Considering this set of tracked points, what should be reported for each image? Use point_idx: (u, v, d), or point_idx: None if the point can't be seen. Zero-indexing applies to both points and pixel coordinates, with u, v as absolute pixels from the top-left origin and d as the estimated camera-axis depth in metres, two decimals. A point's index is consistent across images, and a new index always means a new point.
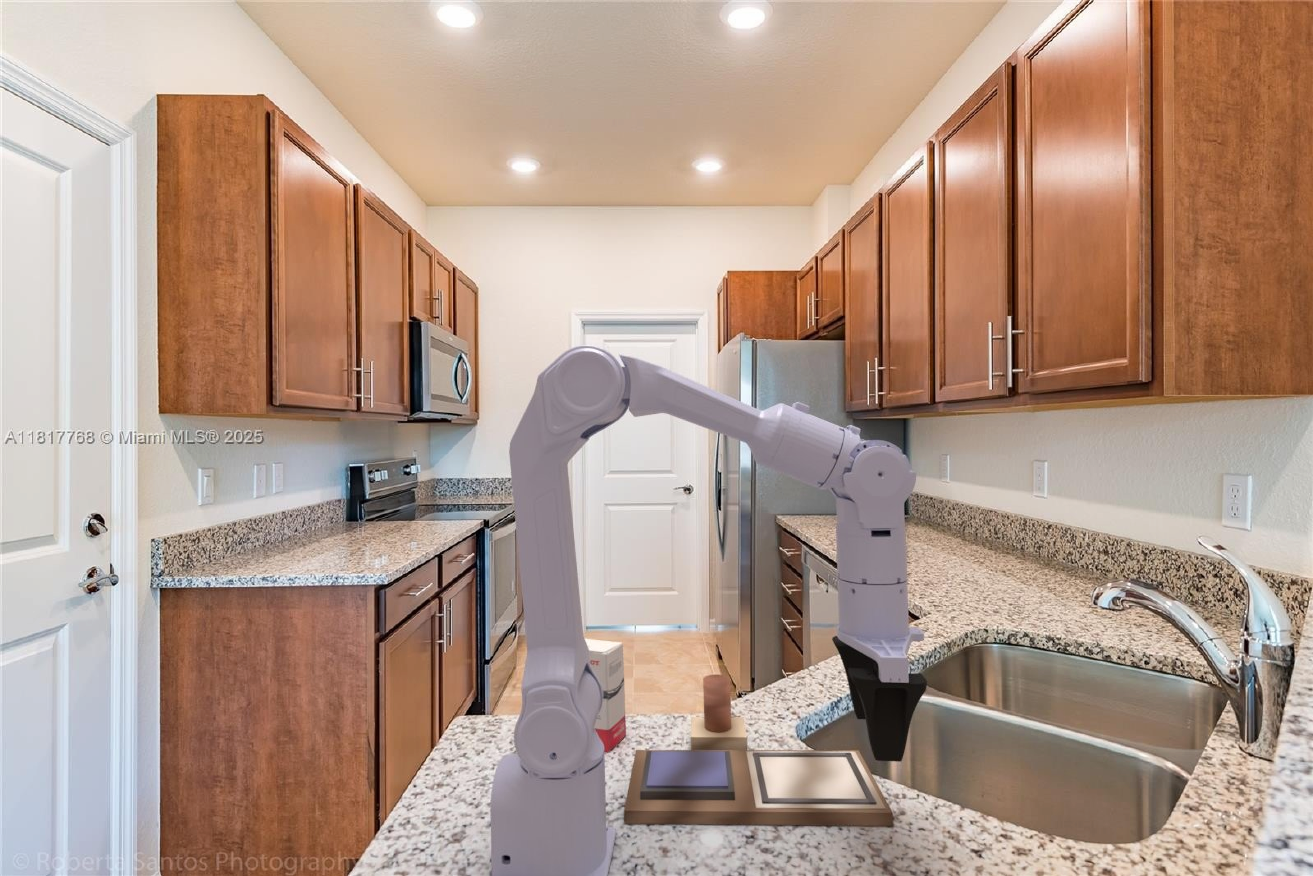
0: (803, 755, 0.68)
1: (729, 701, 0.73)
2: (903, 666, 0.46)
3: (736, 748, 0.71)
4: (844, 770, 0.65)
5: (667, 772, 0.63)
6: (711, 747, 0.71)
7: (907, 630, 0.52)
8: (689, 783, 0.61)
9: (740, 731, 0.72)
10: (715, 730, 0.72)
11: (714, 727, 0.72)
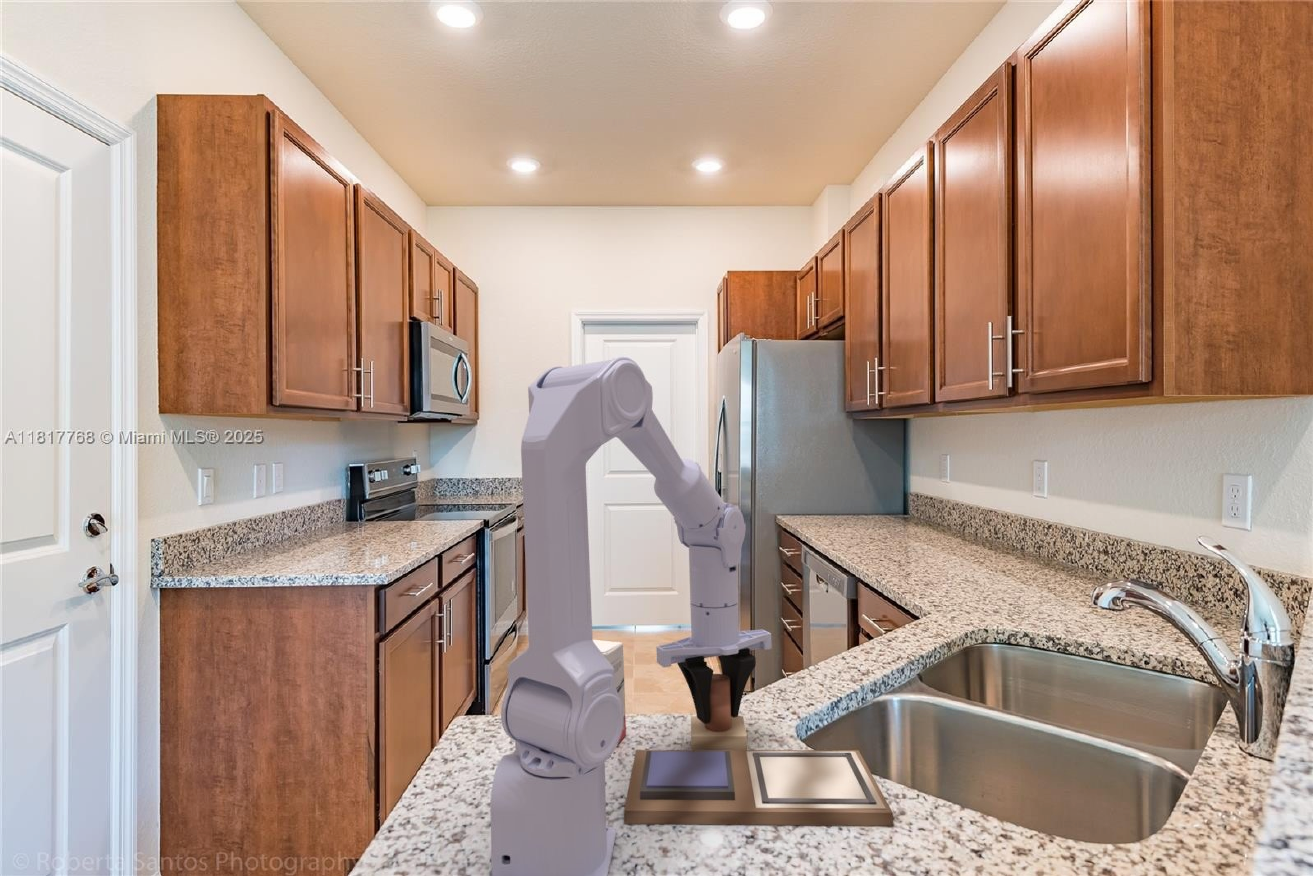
0: (803, 755, 0.68)
1: (729, 700, 0.73)
2: (661, 656, 0.70)
3: (736, 747, 0.71)
4: (844, 770, 0.65)
5: (667, 772, 0.63)
6: (711, 746, 0.71)
7: (714, 643, 0.71)
8: (689, 783, 0.61)
9: (740, 730, 0.72)
10: (715, 729, 0.72)
11: (714, 726, 0.72)
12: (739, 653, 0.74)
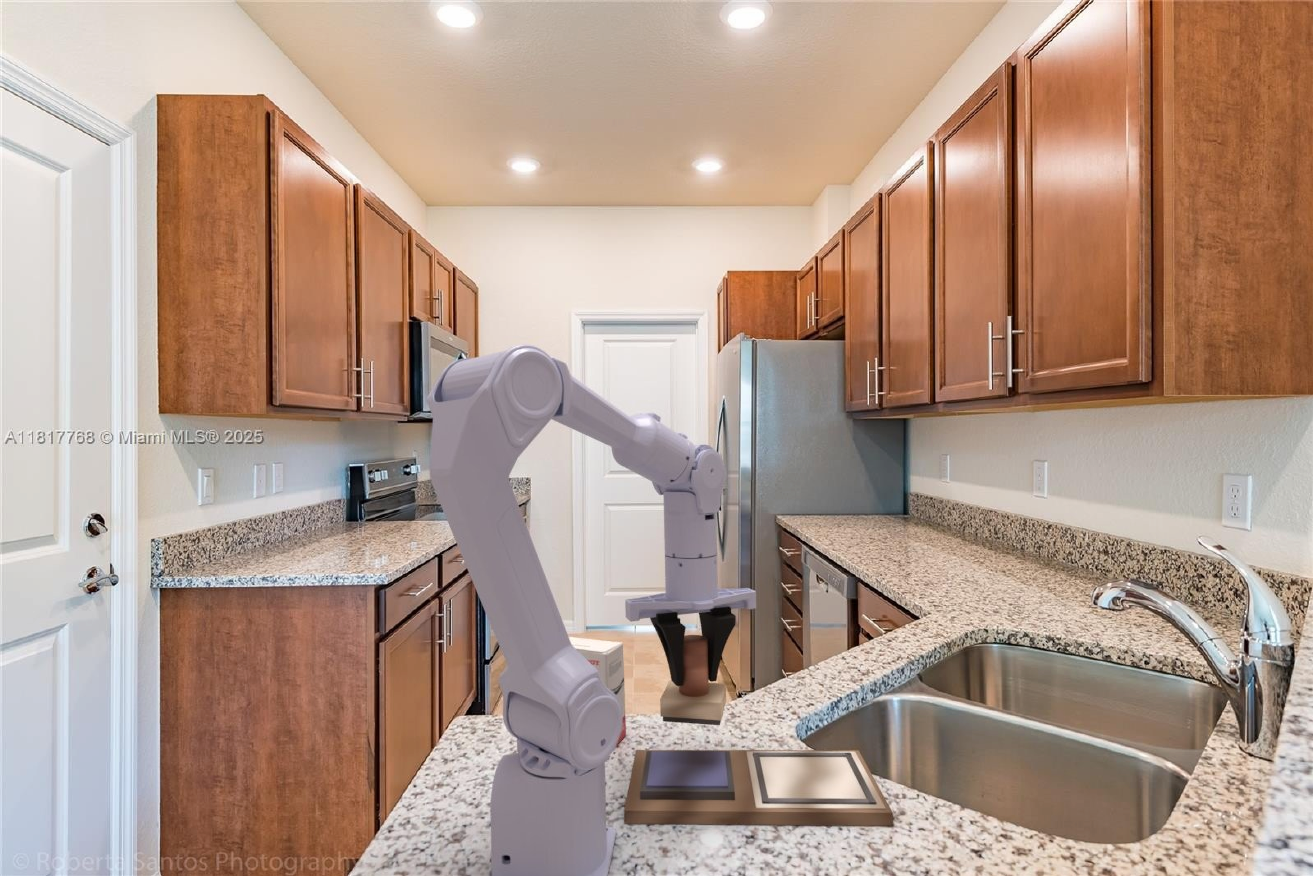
0: (803, 755, 0.68)
1: (705, 663, 0.66)
2: (629, 609, 0.64)
3: (709, 714, 0.64)
4: (844, 770, 0.65)
5: (667, 772, 0.63)
6: (682, 711, 0.64)
7: (687, 597, 0.64)
8: (689, 783, 0.61)
9: (717, 696, 0.65)
10: (688, 694, 0.65)
11: (687, 690, 0.66)
12: (718, 611, 0.67)
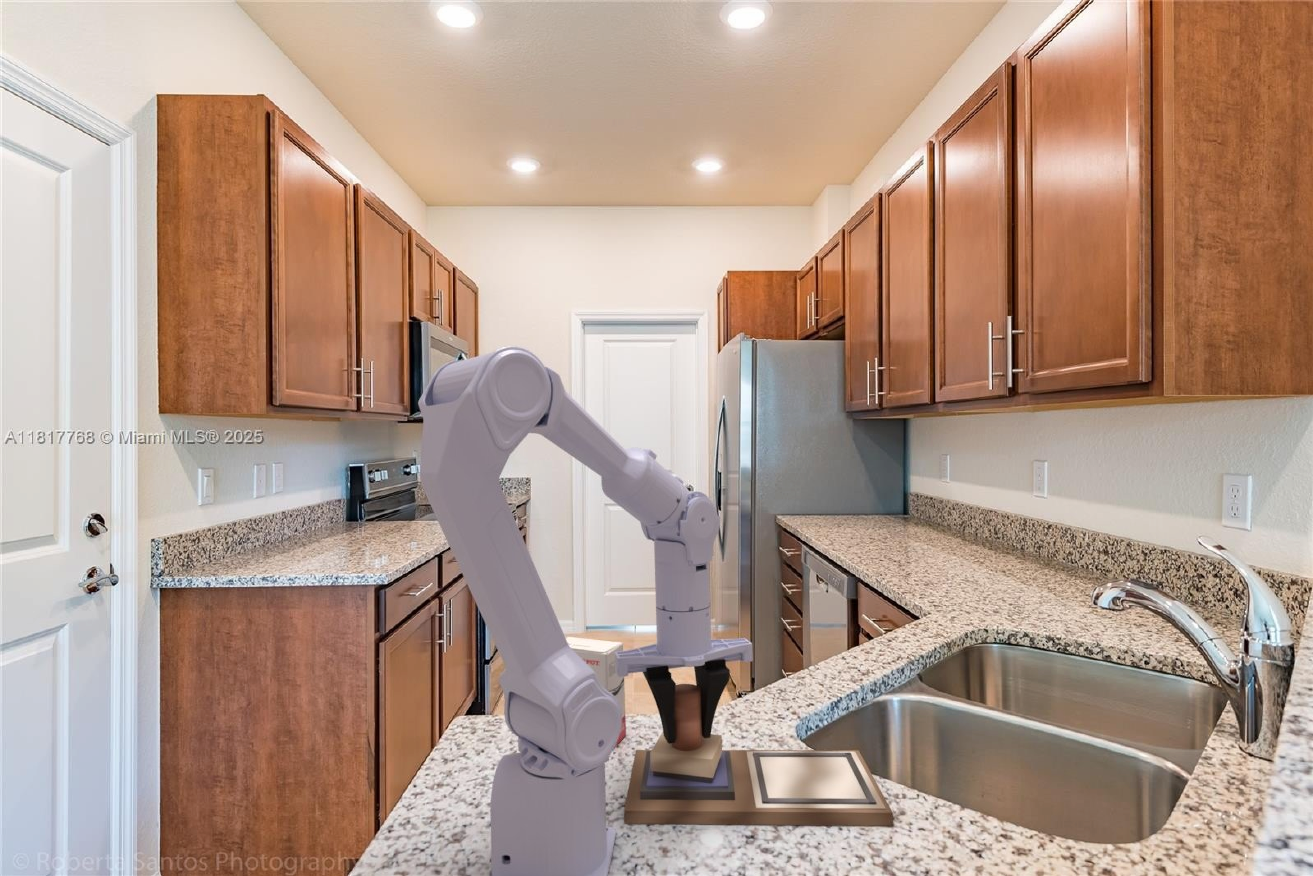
0: (803, 755, 0.68)
1: (698, 716, 0.63)
2: (617, 663, 0.62)
3: (700, 771, 0.61)
4: (844, 770, 0.65)
5: None
6: (672, 766, 0.62)
7: (677, 652, 0.62)
8: (689, 783, 0.61)
9: (709, 751, 0.62)
10: (680, 747, 0.63)
11: (679, 744, 0.63)
12: (712, 665, 0.64)
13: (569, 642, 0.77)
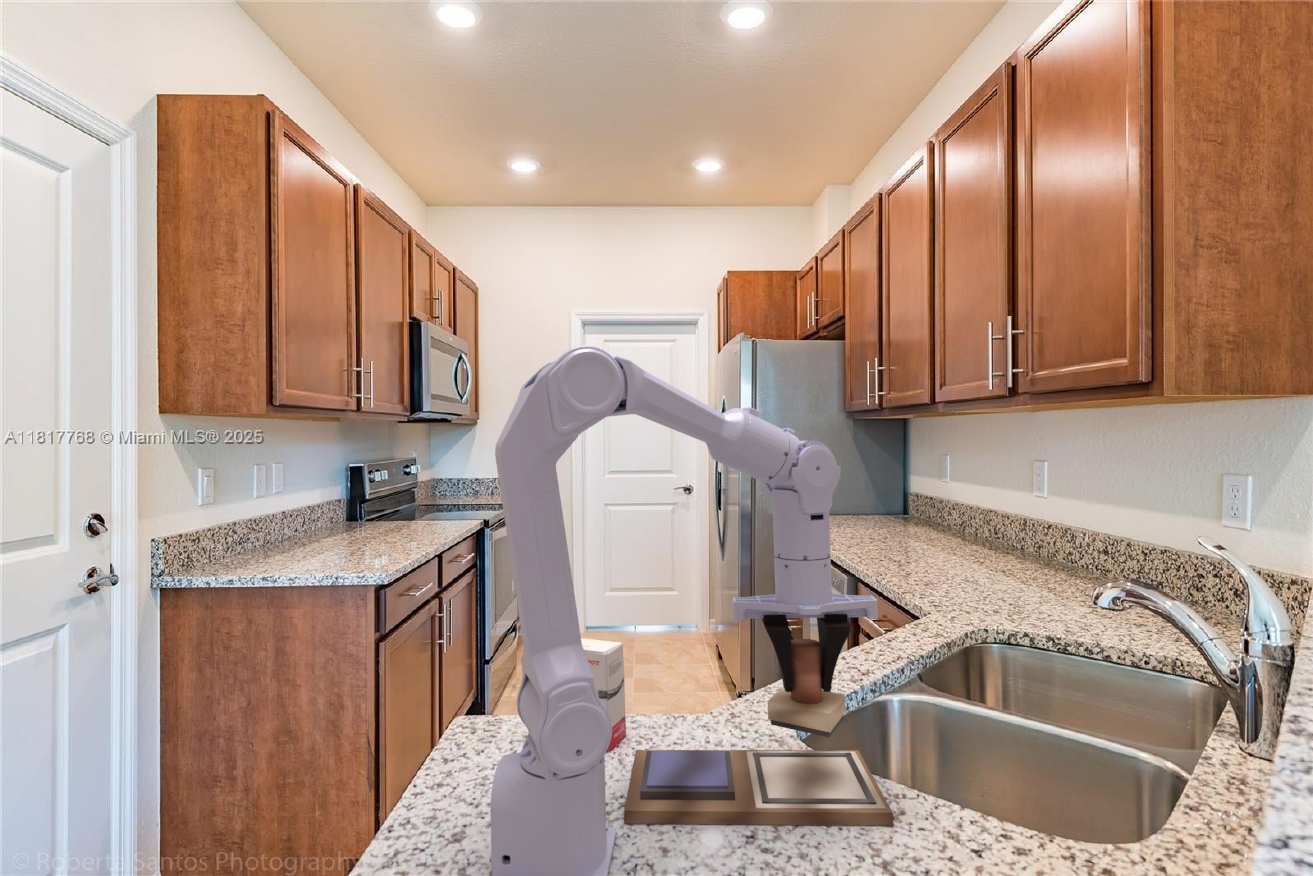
0: (803, 755, 0.68)
1: (817, 670, 0.63)
2: (733, 607, 0.64)
3: (817, 724, 0.60)
4: (844, 770, 0.65)
5: (667, 772, 0.63)
6: (789, 717, 0.62)
7: (793, 601, 0.61)
8: (689, 783, 0.61)
9: (828, 707, 0.61)
10: (798, 700, 0.63)
11: (797, 696, 0.63)
12: (833, 618, 0.63)
13: None
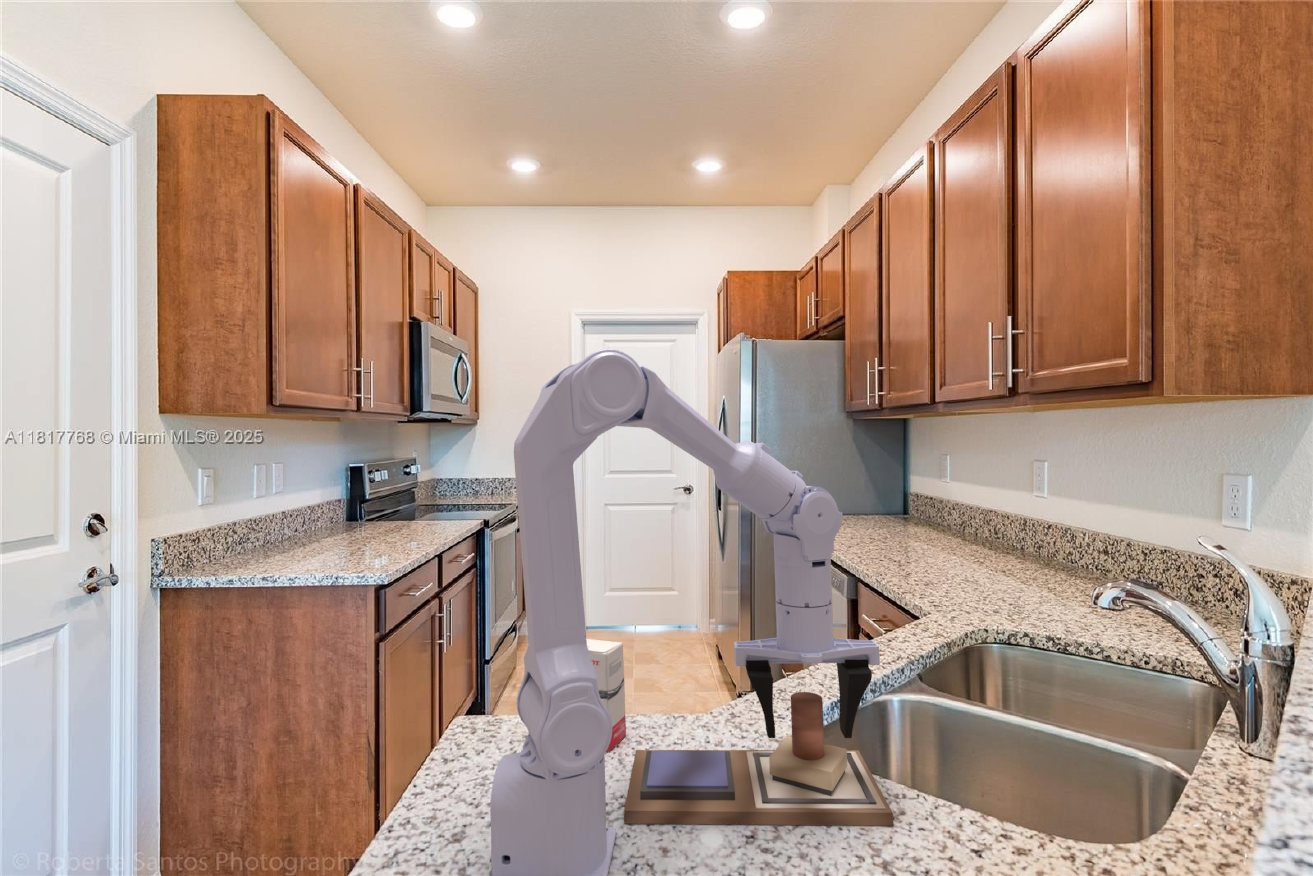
0: None
1: (818, 726, 0.62)
2: (735, 653, 0.63)
3: (819, 782, 0.60)
4: None
5: (667, 772, 0.63)
6: (791, 773, 0.62)
7: (795, 648, 0.61)
8: (689, 783, 0.61)
9: (830, 764, 0.61)
10: (800, 755, 0.62)
11: (799, 752, 0.63)
12: (853, 664, 0.63)
13: None
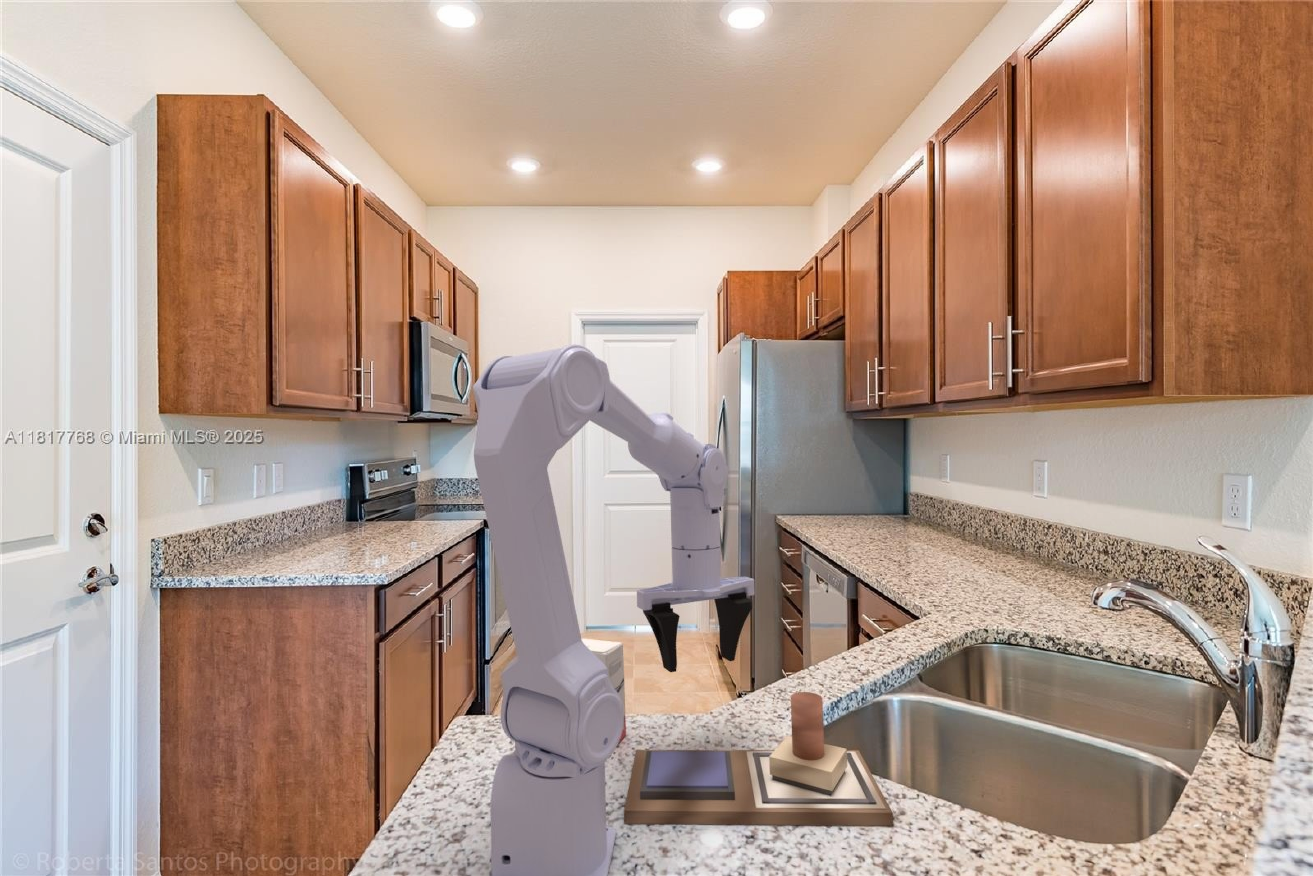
0: None
1: (818, 726, 0.62)
2: (642, 599, 0.68)
3: (819, 782, 0.60)
4: None
5: (667, 772, 0.63)
6: (791, 773, 0.62)
7: (696, 586, 0.69)
8: (689, 783, 0.61)
9: (830, 764, 0.61)
10: (800, 755, 0.62)
11: (799, 752, 0.63)
12: (735, 596, 0.73)
13: None
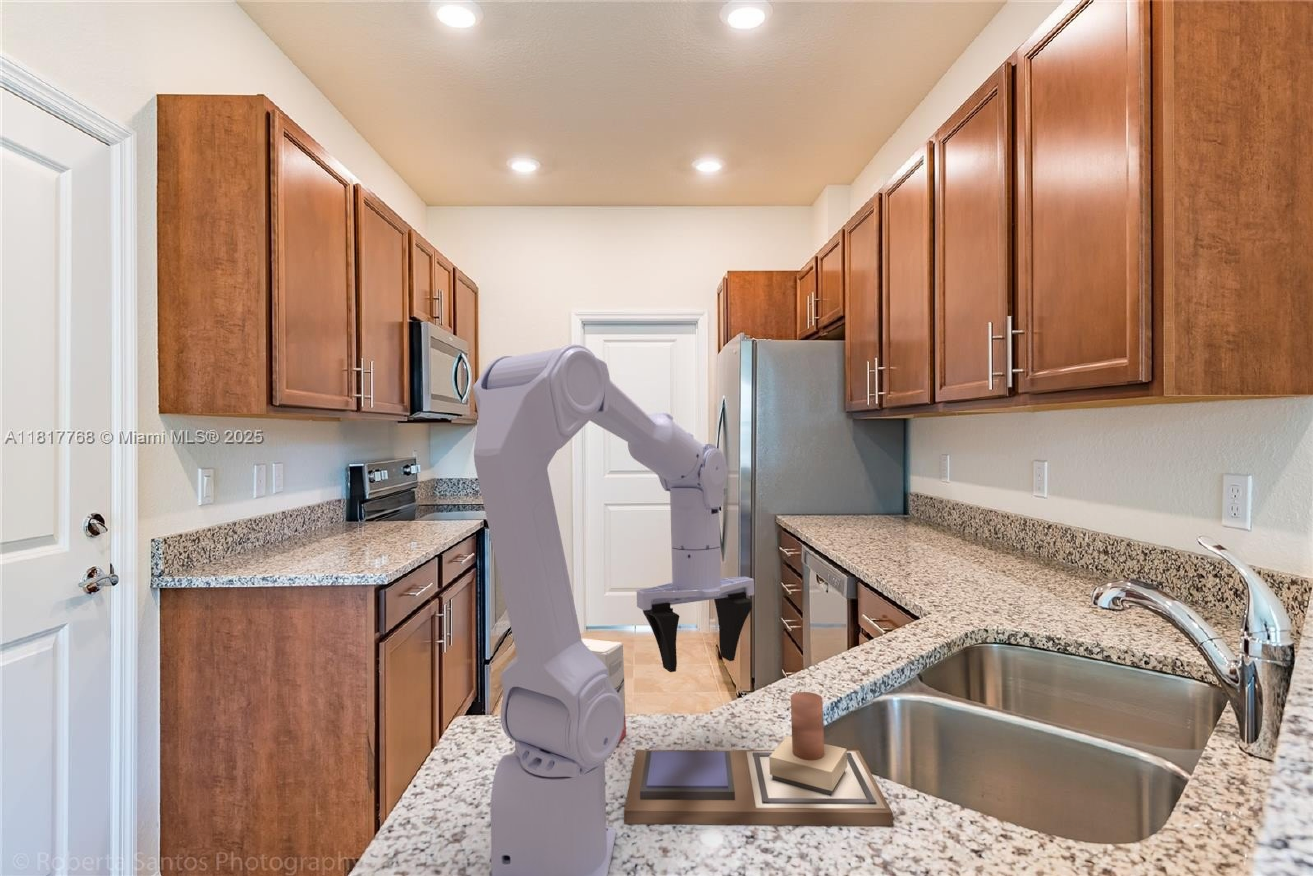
0: None
1: (818, 726, 0.62)
2: (642, 599, 0.68)
3: (819, 782, 0.60)
4: None
5: (667, 772, 0.63)
6: (791, 773, 0.62)
7: (696, 586, 0.69)
8: (689, 783, 0.61)
9: (830, 764, 0.61)
10: (800, 755, 0.62)
11: (799, 752, 0.63)
12: (735, 596, 0.73)
13: None
